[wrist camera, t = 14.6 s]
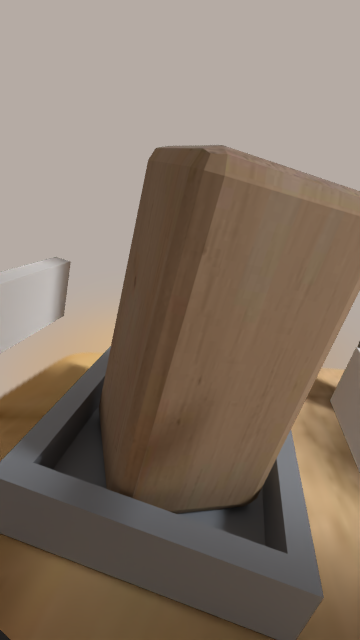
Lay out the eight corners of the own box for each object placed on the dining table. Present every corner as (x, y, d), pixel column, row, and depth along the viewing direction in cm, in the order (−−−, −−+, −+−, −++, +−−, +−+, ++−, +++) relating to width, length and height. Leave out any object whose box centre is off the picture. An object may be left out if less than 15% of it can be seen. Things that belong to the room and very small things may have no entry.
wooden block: (96, 409, 27) (148, 141, 20) (206, 410, 31) (287, 184, 23) (106, 529, 19) (207, 136, 11) (257, 512, 22) (412, 205, 15)
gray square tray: (270, 430, 32) (284, 396, 31) (292, 645, 17) (323, 597, 15) (107, 377, 34) (113, 342, 32) (-14, 527, 18) (-12, 474, 17)
